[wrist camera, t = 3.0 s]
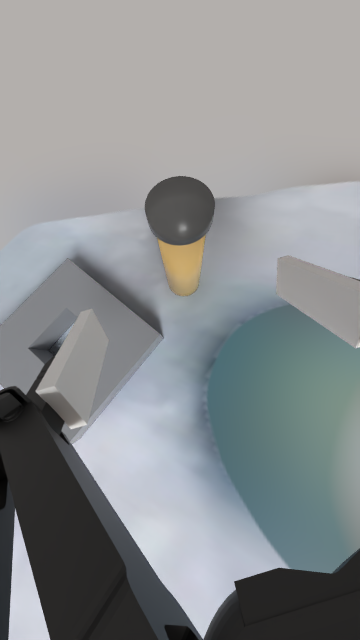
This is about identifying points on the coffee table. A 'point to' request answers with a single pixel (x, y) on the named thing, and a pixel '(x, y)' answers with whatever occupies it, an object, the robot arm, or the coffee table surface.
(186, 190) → the plug
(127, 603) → the robot arm
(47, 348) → the socket plate
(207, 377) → the coffee table surface
